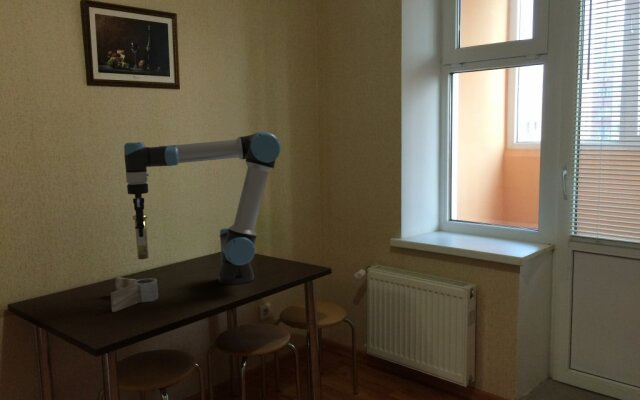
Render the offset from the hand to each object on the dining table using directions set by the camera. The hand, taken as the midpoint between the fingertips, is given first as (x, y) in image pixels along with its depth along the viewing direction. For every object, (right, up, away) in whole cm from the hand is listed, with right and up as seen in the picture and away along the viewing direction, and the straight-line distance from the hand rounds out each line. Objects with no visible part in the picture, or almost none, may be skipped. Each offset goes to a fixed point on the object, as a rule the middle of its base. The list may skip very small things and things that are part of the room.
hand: (142, 243), depth 201 cm
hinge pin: (0, -6, +1) cm, 6 cm away
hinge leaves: (-10, -22, 0) cm, 25 cm away
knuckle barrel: (+1, -22, +3) cm, 22 cm away
